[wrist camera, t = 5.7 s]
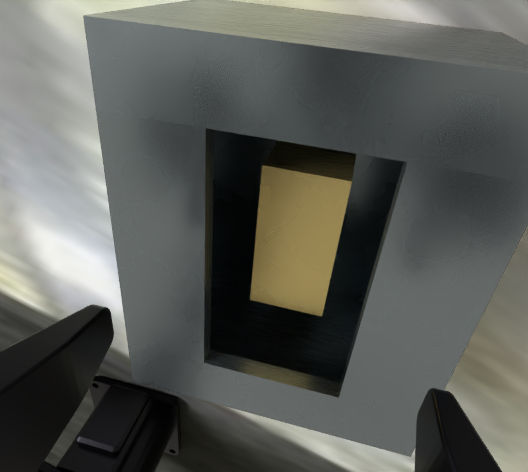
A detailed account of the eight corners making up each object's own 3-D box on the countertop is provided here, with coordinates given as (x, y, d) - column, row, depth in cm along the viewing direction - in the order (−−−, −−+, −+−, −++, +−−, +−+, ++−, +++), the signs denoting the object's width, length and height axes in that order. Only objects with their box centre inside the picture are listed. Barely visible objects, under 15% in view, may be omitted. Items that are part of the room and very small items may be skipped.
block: (336, 238, 18) (322, 316, 14) (279, 227, 19) (250, 299, 14) (360, 125, 15) (351, 181, 11) (294, 115, 16) (262, 165, 12)
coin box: (402, 309, 20) (410, 456, 14) (204, 265, 22) (133, 380, 15) (501, 32, 13) (599, 82, 7) (205, -3, 15) (83, 15, 9)
